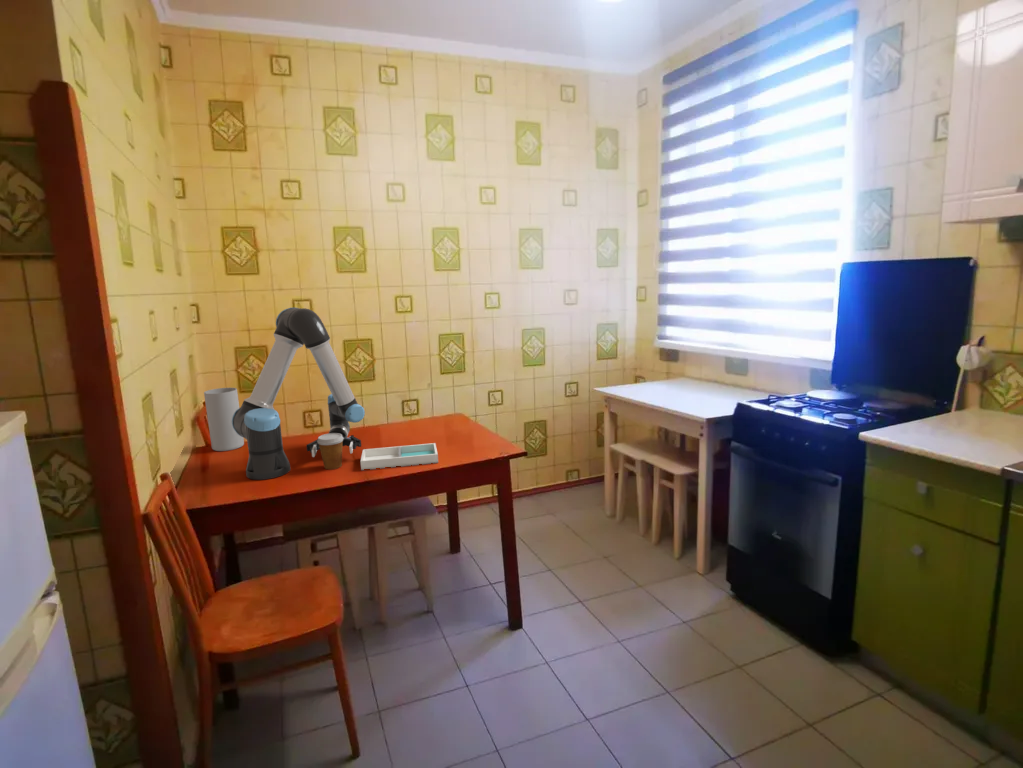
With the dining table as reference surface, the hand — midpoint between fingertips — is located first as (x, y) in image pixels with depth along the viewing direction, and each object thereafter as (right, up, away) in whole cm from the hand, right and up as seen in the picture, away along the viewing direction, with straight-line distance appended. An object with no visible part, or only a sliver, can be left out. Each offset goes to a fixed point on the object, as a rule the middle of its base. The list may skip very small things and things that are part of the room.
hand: (331, 451), depth 209 cm
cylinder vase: (-55, -2, +33) cm, 64 cm away
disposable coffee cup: (-1, -6, +3) cm, 7 cm away
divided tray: (+24, -4, +8) cm, 26 cm away
